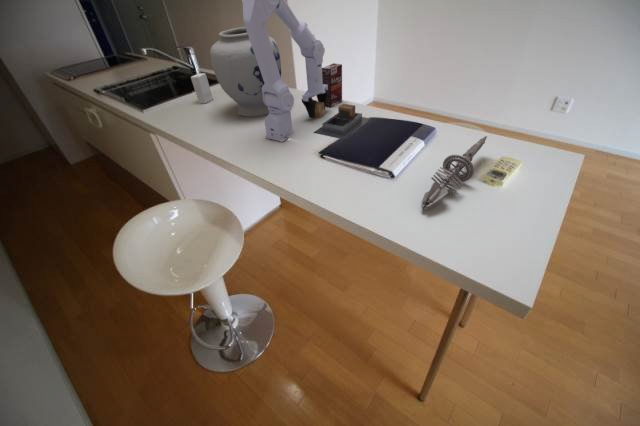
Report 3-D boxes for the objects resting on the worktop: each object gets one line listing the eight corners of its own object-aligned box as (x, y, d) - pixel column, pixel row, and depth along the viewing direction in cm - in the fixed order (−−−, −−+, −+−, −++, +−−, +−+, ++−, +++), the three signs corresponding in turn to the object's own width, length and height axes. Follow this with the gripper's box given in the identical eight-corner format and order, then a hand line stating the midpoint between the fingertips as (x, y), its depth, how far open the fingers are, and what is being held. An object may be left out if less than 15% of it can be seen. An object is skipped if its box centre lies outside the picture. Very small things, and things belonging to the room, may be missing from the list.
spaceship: (507, 134, 77) (482, 118, 79) (448, 208, 61) (417, 185, 63) (488, 154, 84) (465, 139, 86) (430, 226, 68) (403, 205, 70)
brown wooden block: (350, 125, 105) (350, 109, 101) (338, 123, 107) (337, 107, 103) (355, 121, 107) (355, 105, 104) (343, 119, 110) (343, 103, 106)
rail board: (345, 142, 97) (345, 132, 95) (313, 135, 103) (312, 125, 101) (370, 120, 109) (371, 111, 107) (340, 115, 115) (340, 106, 113)
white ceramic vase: (277, 122, 114) (263, 34, 95) (215, 121, 118) (190, 37, 99) (292, 99, 134) (283, 22, 115) (239, 99, 139) (221, 26, 119)
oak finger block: (319, 120, 113) (318, 105, 109) (309, 118, 115) (308, 103, 111) (325, 117, 115) (324, 102, 111) (314, 115, 117) (313, 100, 114)
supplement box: (331, 110, 120) (330, 69, 110) (322, 108, 123) (320, 68, 113) (343, 103, 125) (342, 64, 115) (333, 102, 128) (332, 62, 118)
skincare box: (206, 99, 142) (198, 72, 134) (214, 99, 141) (206, 73, 133) (198, 103, 138) (189, 76, 130) (206, 104, 136) (197, 76, 128)
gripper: (312, 84, 99) (315, 122, 108) (334, 73, 108) (335, 109, 117) (296, 82, 102) (300, 119, 111) (318, 71, 111) (320, 106, 120)
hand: (317, 113), depth 114 cm, fingers open, 7 cm apart
